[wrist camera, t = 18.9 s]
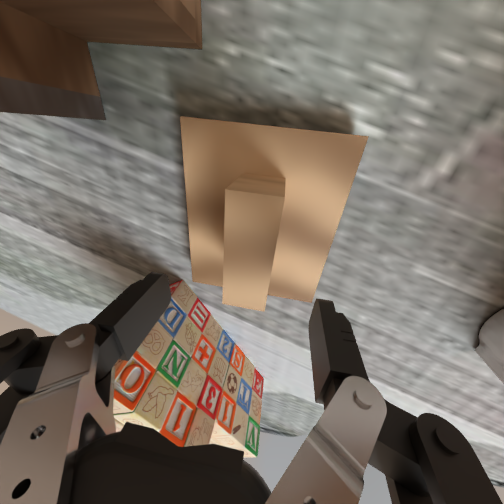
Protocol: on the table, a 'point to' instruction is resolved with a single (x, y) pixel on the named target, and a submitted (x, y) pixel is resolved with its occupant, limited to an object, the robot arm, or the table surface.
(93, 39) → the brown wooden box
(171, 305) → the stack of blocks
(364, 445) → the robot arm
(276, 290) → the lid
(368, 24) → the table surface
